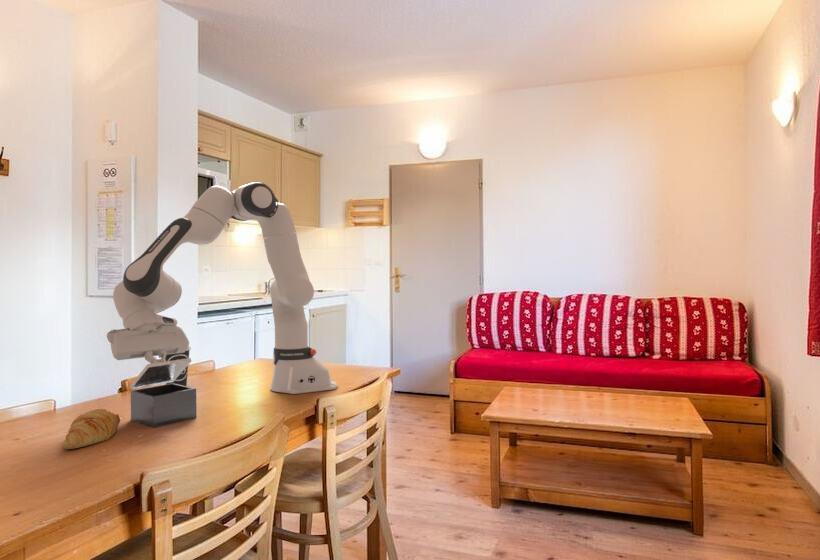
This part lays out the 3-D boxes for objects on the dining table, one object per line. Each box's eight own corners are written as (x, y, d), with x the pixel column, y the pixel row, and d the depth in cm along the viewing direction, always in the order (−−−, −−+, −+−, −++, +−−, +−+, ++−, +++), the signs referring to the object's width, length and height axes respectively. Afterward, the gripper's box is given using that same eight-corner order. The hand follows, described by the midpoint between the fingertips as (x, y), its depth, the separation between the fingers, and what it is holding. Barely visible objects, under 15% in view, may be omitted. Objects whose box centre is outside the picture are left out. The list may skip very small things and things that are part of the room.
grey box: (131, 419, 143) (130, 390, 143) (173, 410, 153) (172, 383, 153) (153, 427, 136) (153, 396, 136) (196, 417, 146) (196, 388, 146)
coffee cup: (196, 384, 190) (196, 342, 189) (182, 390, 180) (181, 346, 180) (170, 383, 190) (170, 342, 190) (155, 389, 181) (155, 345, 181)
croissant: (79, 468, 118) (96, 436, 118) (37, 448, 117) (54, 416, 117) (126, 436, 139) (140, 409, 139) (91, 419, 138) (105, 392, 138)
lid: (130, 389, 143) (128, 383, 144) (173, 382, 153) (171, 376, 154) (148, 367, 137) (146, 361, 138) (191, 361, 147) (189, 355, 148)
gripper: (108, 323, 141) (125, 363, 135) (181, 318, 157) (199, 354, 151) (100, 338, 144) (117, 378, 138) (173, 332, 160) (190, 368, 154)
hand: (160, 366), depth 145 cm, fingers closed, pressing on lid
